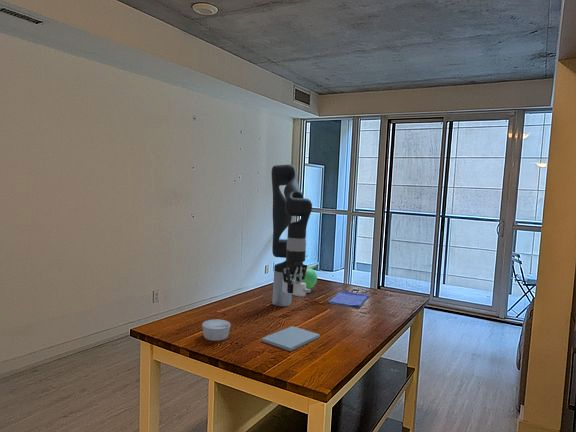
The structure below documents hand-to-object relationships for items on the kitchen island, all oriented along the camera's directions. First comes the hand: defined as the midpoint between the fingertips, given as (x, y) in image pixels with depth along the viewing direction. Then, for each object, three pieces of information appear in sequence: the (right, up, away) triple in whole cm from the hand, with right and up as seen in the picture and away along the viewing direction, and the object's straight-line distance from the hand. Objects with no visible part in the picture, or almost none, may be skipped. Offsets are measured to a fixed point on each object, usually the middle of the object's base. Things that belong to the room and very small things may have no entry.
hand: (293, 291), depth 168 cm
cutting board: (-1, -19, +1) cm, 19 cm away
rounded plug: (+1, -1, -1) cm, 1 cm away
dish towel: (+31, -17, +64) cm, 73 cm away
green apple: (+5, -13, +83) cm, 84 cm away
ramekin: (-31, -18, 0) cm, 36 cm away
